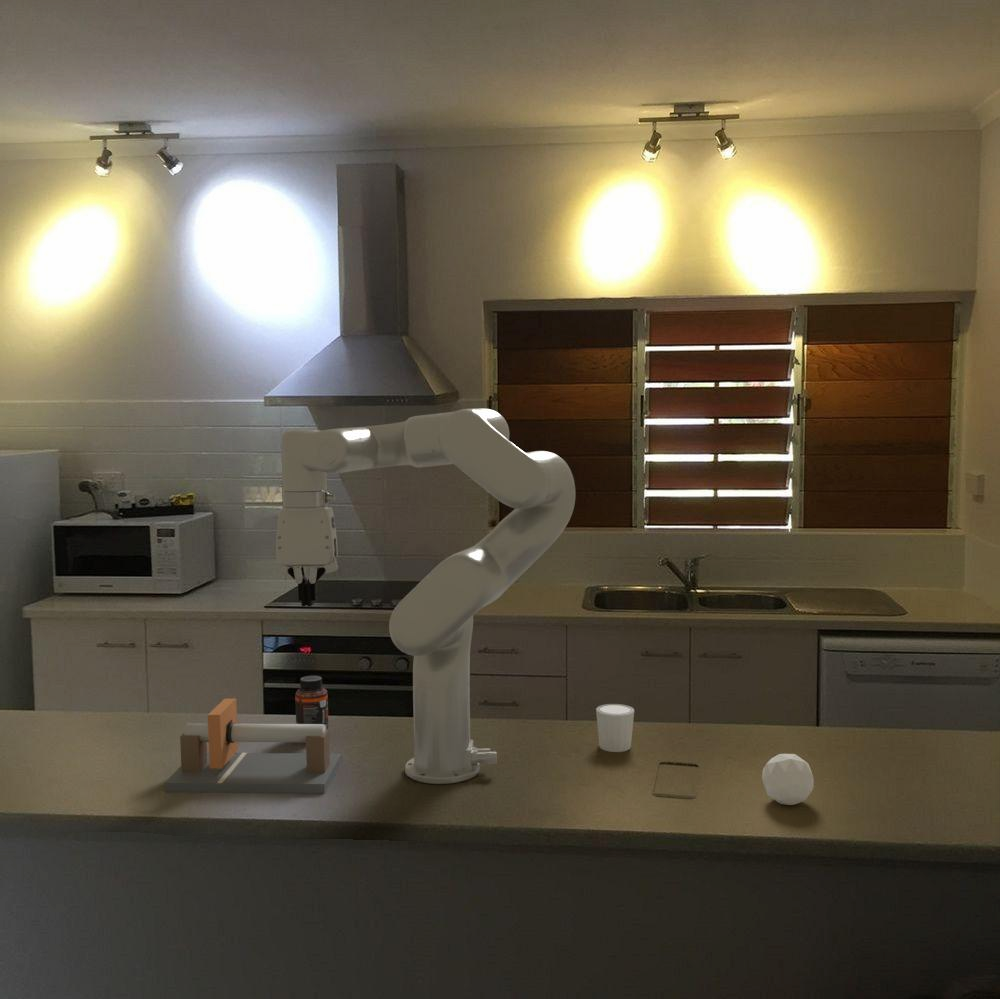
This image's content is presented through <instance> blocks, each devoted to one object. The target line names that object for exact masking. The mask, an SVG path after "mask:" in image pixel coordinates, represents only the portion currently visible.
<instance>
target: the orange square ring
mask: <svg viewBox="0 0 1000 999" xmlns="http://www.w3.org/2000/svg"><path fill="white" fill-rule="evenodd" d="M237 706H238V705H237V698H224V699H223V700H222V701H220V702H219V703H218V704H217V706H215V707H214V708H213V709H212V710H211V711H210V712H209V713H208V714H207V723H208V734H209V742H208V753H209V761H210V768H217V769H222V768H223V767H224V765H225V764H226V763H227V762H228V761H229V760H230V759H231V757H232V756H233V755H234V754H235V753H238V751H239V742H234V743H228V742H226V725H227V724H229V723H236V724H238V713H237V712H238V708H237Z"/></svg>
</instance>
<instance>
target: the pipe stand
mask: <svg viewBox="0 0 1000 999" xmlns="http://www.w3.org/2000/svg"><path fill="white" fill-rule="evenodd" d="M328 729H329V728H328ZM328 729H325V725H324V724H296V723H237V724H236V723H229V724H227V725H226V742H228V743H234V742H238V743H305V752H306V753H293V752H292V753H284V752H283V753H281V752H279V753H278V752H277V753H276V752H275V753H272V752H269V753H268V752H267V753H266V752H257V753H256V752H251V753H250V752H236V753H235V754H234V755H233V756H232V757H231V759H230V760H229V761H228V762H227V763H226V764H225V765H224V767H223V768H222V769H217V768H210V761H209V752H208V750H207V743H209V734H208V722H206V723H205V722H204V723H198V722H197V723H196V722H195V723H193V722H192V723H191V722H190V723H188V722H187V723H186V724H185V727H184V732H183V733H181V735H180V736H179V740H180V741H179V742H180V766H179V767H178V768H177V769H176V770H175V772H173V774H171V775H170V776H169V778H168V779H166V781H165V782H164V792H165V793H169V792H171V793H173V792H174V793H267V794H268V793H271V794H273V793H275V794H276V793H278V794H279V793H280V794H281V793H282V794H289V793H290V794H325V793H326V791H327V790H328V788H329V786H330V784H331V783H332V781H333V778H334V777H335V775H336V773H337V772H338V770H339V768H340V766H341V764H342V763H343V762H342V753H330V729H329V730H328Z"/></svg>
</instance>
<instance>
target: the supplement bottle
mask: <svg viewBox="0 0 1000 999" xmlns="http://www.w3.org/2000/svg"><path fill="white" fill-rule="evenodd" d="M299 685H300V687H299V688H298V689H297V691H296V692H295V696H294V697H295V724H324V725H325V729H328V730H329V731H330V729H329V706H328V705H329V704H328V703H329V699H328V690H327V689H326V688H325V687H324V686H323V678H322V677H321V676H319V675H307V676H303V677H300V679H299Z"/></svg>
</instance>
